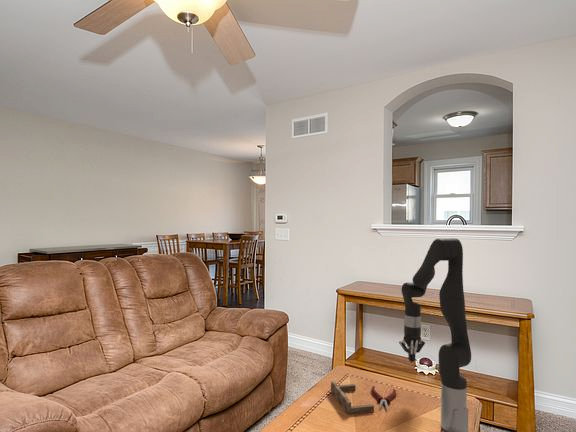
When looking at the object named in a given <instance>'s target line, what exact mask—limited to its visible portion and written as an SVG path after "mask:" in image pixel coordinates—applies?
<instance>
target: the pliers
mask: <svg viewBox="0 0 576 432" xmlns="http://www.w3.org/2000/svg"><path fill="white" fill-rule="evenodd" d="M370 391H371V395H373V397H374V398H376V402H377V403H379V410H382V408H383V405H384V408H385V410H386V411H388V404H389V405H390V404H391V401H392V400H394V399H395V398H396V396H397V391H396V389H395V388H393V389H392V393H390V394H388V395H386V396H385V397H383V396H382V395H381V394H379V393H378V391H377V390H376V389H375V385H373V386H372V387H371V390H370Z"/></svg>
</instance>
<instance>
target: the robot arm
mask: <svg viewBox="0 0 576 432" xmlns="http://www.w3.org/2000/svg"><path fill="white" fill-rule="evenodd" d="M441 261H442V262H444V261H447V273H446V276H445V279H444V281H443V283H442V285H441V287H440V289H439V295H438V296H439V307H440V312H441V314H442V316H443V318H444V319H445V321H446V323H447V325H448V327H449V330H450V335H451V336H450V337H451V340H450V341H451V343H447V344H442V345H441V346H440V348H439V350H438V372H439V377H440V380H441V381H440V382H441V384H440V427H441V429H443V431H445V432H469V408H467V407H468V406H467V405H468V403H467V399H468V392H467V391H468V390H467V389H468V381H467V379H466V377H464V376H463V375H461V372H460V368H463V367H466V366H468V365H470V363H471V361H472V349H471V343H470V340H469V334H468V328H467V326H468V325H467V318H466V316H467V315H466V302H465V301H466V300H465V292H464V278H463V276H464V275H463V268H464V267H463V266H464V264H463V263H464V249H463V244H462V241H460V239H458V237H457V238H455V237H444V238H443V237H442V238H441V237H440V238H436V239H434V240H433V241H432V242H431V245H430V246H429V248H428V250H427V253H426V255H425V257H424V260H423V262H422V263H421V266H420V267H419V268H418V269H417V271H416V273H415V274H414V275H413V277H412V282H404V283H403V284H402V286H401V288H400V289H401V290H400V291H401V295H402V299H403V303H404V319H403V321H404V322H403V324H404V325H403V335H404V336H403V340H401V341H399V342H398V344H399V345H400V347H401V348H402V350H403V351H404V352H406V353H407V354H408V356H407V358H408V361H409V362H410V363H414V362H415V361H416V354H417V353H420V352H421V350H422V348H423V347H424V346H425V344H426V341H424V340H422V337H421V335H422V318H421V309H422V308H421V307H422V306H421V304H420V303H419V302H418V301H413V298H422V297H423V296H425V294H426V293H427V292H426V291H427V288H428V285H429V284H430V283H431V282H432V281H433V279H434V278H435V275H436V269H435V266H436V265H437V264H438V263H439V262H441Z"/></svg>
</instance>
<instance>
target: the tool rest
mask: <svg viewBox="0 0 576 432" xmlns="http://www.w3.org/2000/svg"><path fill="white" fill-rule="evenodd" d="M356 389H357V388H356V384H355V383H350V384H340V385H338V383H336V381H335V380H330V392H331V394H332V395H333V397H334V398H335V399H336V401H337V403H339V404H340V407H341V408H343V410H344V412H345V413H346V414H347V415H357V414H364V413H365V414H366V413H373V412H375V405H374V404H372V403H370V404H360V405H353V406H352V402H351V400H350V399H349V398H348V397H347V395H346V394H345V392H355V391H356Z"/></svg>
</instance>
